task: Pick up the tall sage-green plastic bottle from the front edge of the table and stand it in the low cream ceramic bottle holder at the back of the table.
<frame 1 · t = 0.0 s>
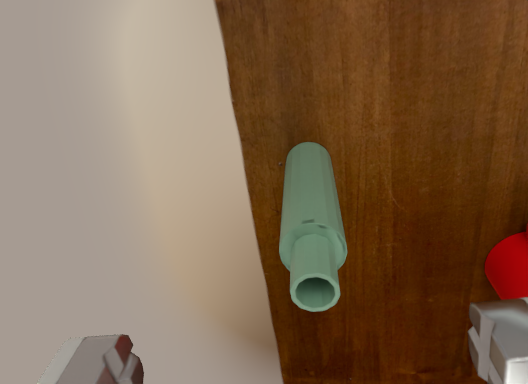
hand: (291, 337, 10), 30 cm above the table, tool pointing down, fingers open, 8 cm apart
bottle: (308, 162, 40), on the table
mug: (523, 245, 43), on the table
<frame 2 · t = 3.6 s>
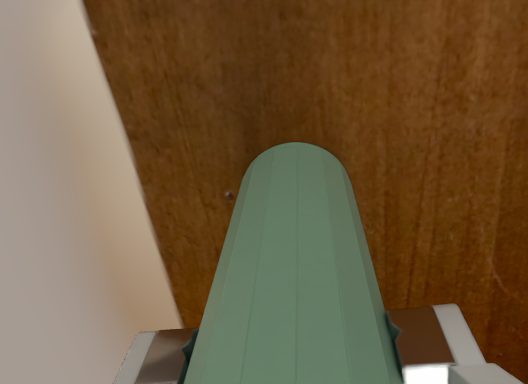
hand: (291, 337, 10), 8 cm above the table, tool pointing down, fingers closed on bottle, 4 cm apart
bottle: (295, 193, 16), on the table, touching gripper
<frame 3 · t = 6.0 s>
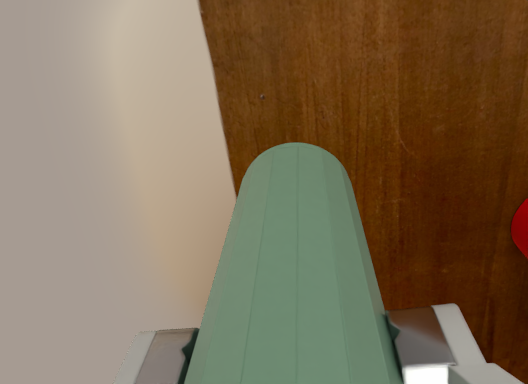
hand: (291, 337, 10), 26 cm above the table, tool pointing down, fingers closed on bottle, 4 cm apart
bottle: (295, 193, 17), point 18 cm above the table, touching gripper
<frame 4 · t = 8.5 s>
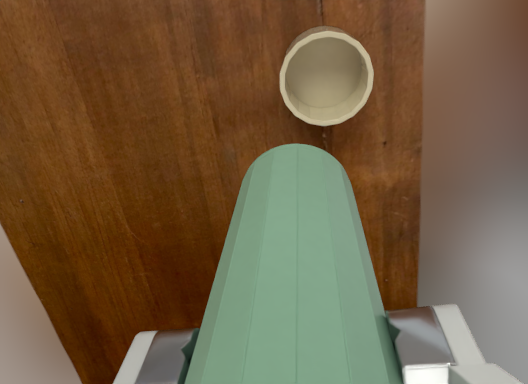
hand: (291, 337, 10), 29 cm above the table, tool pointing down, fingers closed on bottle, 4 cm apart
holder: (322, 69, 35), on the table
bottle: (295, 194, 17), point 21 cm above the table, touching gripper
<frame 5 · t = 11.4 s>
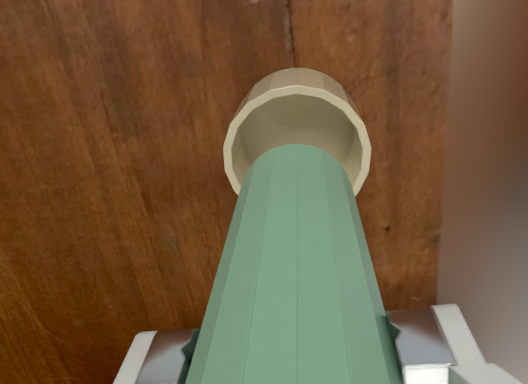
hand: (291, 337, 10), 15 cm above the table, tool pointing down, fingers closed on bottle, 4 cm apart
holder: (296, 129, 23), on the table
bottle: (295, 194, 17), point 8 cm above the table, touching gripper
when the fingers open (8 cm above the table, at t = 13.5 s): bottle stays where it is, resting on holder.
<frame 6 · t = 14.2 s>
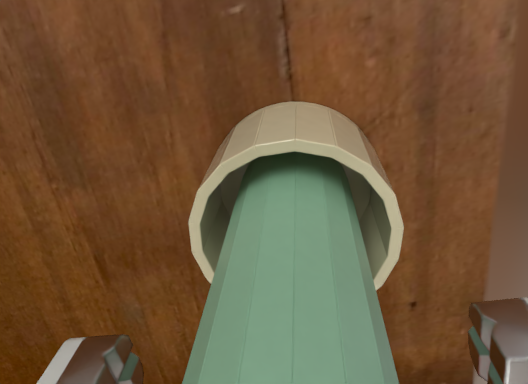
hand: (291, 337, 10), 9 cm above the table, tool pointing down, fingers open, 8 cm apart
holder: (294, 182, 17), on the table
bottle: (294, 190, 17), point 1 cm above the table, touching holder
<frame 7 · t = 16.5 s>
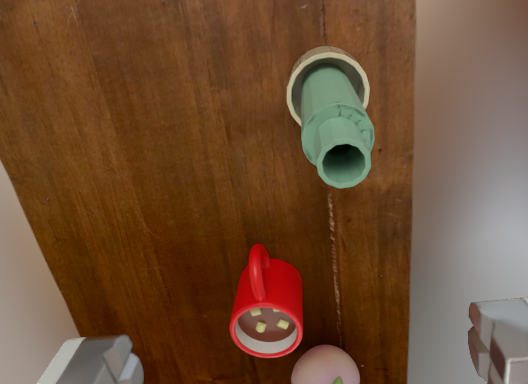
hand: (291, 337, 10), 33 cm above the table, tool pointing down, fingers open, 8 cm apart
holder: (324, 84, 39), on the table
bottle: (325, 86, 38), point 1 cm above the table, touching holder
mug: (267, 270, 49), on the table
decorative fruit: (322, 349, 55), on the table
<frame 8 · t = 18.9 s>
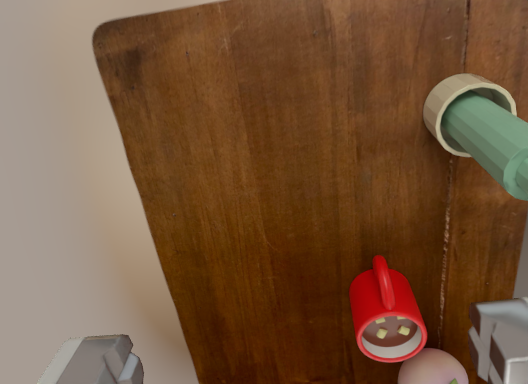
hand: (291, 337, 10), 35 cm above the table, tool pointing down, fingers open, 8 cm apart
holder: (458, 108, 41), on the table
bottle: (460, 110, 41), point 1 cm above the table, touching holder
mug: (377, 278, 52), on the table
decorative fruit: (420, 352, 58), on the table
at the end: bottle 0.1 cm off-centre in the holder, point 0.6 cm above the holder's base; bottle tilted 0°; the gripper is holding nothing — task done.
